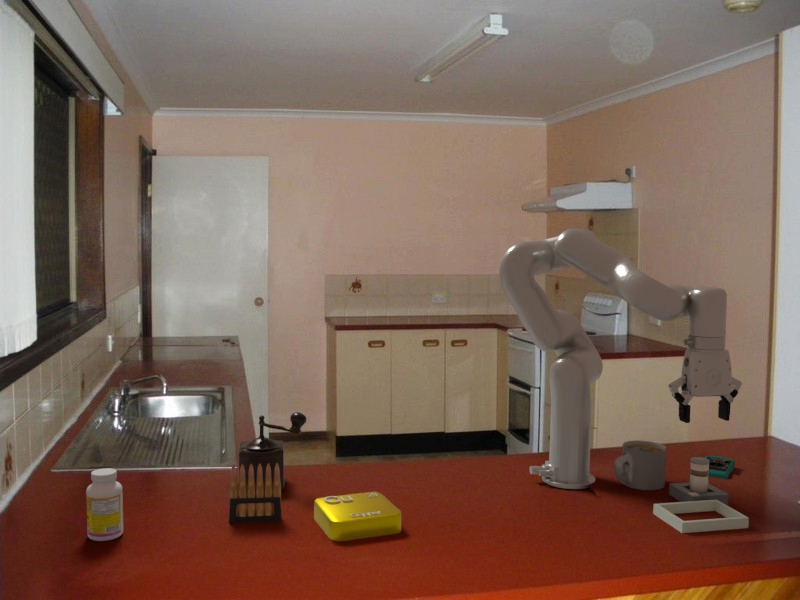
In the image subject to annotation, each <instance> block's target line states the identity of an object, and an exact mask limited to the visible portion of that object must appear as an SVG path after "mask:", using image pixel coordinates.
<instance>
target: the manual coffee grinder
mask: <svg viewBox="0 0 800 600" xmlns="http://www.w3.org/2000/svg"><path fill="white" fill-rule="evenodd" d="M258 419H259V420H258V425H259V436H258V437H256V438H255V437H254V439H251V440H242V441H240V444H239V449H238V476H239V475H240V468H241V465H242V464H243V465H244V469H245V478H246V487H247V484H248V473H249V467H250V464H252V465H253V469H254V480H255V493H256V482H257V469H258V466H259V464H261V466H262V471H263V482H264V485H265V477H266V467H267V464H268V463H269V465H270V468H271V477H272V492H273V482H274V470H275V466H276V463H278V465H279V470H280V481H281V491H284V490H285V484H286V483H285V481H286V480H285V457H284V456H285V455H284V454H285V444H284V441H283V440H275V439H271V438H269V437H266V436H265V433H264V431H265V430H264V427H266V428H269V429H275V430H280V431H285V432H288V433H291V434H293V435H297V434H301V433H302V427H303V426H304V425H305V424H306V423H307V416H306V415H305V414H303V413H302V412H300V411H299V412H298V411H296V412H293V413H292V414H291V415H290V418H289V419H290V422H291V426H290V427H287V426H283V425H277V424H272V423H271V424H270V423H266V421H264V420H265V416H264V415H259V417H258Z"/></svg>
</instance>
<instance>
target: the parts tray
mask: <svg viewBox="0 0 800 600" xmlns="http://www.w3.org/2000/svg"><path fill="white" fill-rule="evenodd" d="M714 511H715V512H716V513H718V514H720V515H721V516H723V517H722V518H721V517H720V518H719V517H718V518H708V519H705V518H704V519H695V520H693V519H691V520H683V519H681V518H680V517H679V516H677V514H688V513H701V512H702V513H703V512H714ZM652 514H653V515H655V516H656V518H658V519H660V520H662V522H665V523H666V524H667V525H669V526H671V527H672V528H674V529H675V530H676V531H677V532H679V533H681V534H687V533H688V534H689V533H700V532H701V533H702V532H713V531H725V530H726V531H727V530H740V529H742V530H743V529H748V528H749V523H750V520H749V519H750V517H748V516H747V515H745V514H743V513H741V512H739V511H738V510H736V509H734V508H732V507H731V506H729V505H728V506H727V505H725V504H724V503H722V502H720V501H718V500H703V501H689V502H680V501H675V502H664V503H663V502H660V503H653V508H652ZM675 514H676V515H675Z"/></svg>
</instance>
